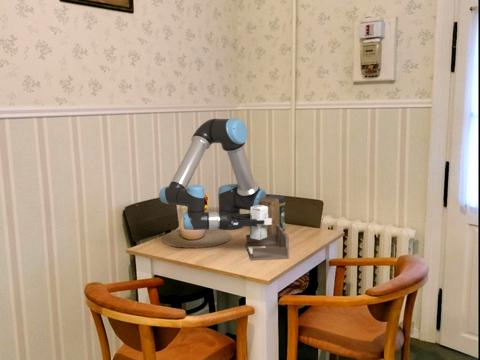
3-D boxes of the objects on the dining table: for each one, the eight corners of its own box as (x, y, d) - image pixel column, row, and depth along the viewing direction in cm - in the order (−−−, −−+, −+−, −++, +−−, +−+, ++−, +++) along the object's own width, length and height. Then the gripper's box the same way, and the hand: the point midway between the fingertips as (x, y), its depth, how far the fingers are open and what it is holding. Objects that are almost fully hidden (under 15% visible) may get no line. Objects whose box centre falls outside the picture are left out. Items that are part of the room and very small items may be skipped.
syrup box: (257, 235, 203) (257, 204, 201) (268, 237, 200) (268, 206, 198) (249, 238, 199) (249, 206, 197) (260, 240, 195) (260, 208, 193)
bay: (245, 245, 211) (244, 225, 209) (278, 243, 213) (278, 224, 211) (251, 260, 189) (251, 238, 188) (288, 258, 191) (288, 237, 190)
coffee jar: (264, 229, 238) (264, 195, 235) (271, 226, 245) (271, 193, 242) (280, 232, 233) (280, 197, 230) (287, 229, 239) (287, 195, 236)
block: (280, 237, 224) (281, 198, 221) (272, 240, 218) (272, 200, 215) (262, 233, 230) (262, 195, 227) (254, 237, 224) (254, 198, 221)
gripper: (217, 223, 207) (265, 221, 209) (220, 235, 187) (274, 233, 189) (216, 207, 206) (265, 206, 208) (220, 217, 185) (274, 216, 188)
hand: (269, 219), depth 199 cm, fingers closed on syrup box, 8 cm apart
